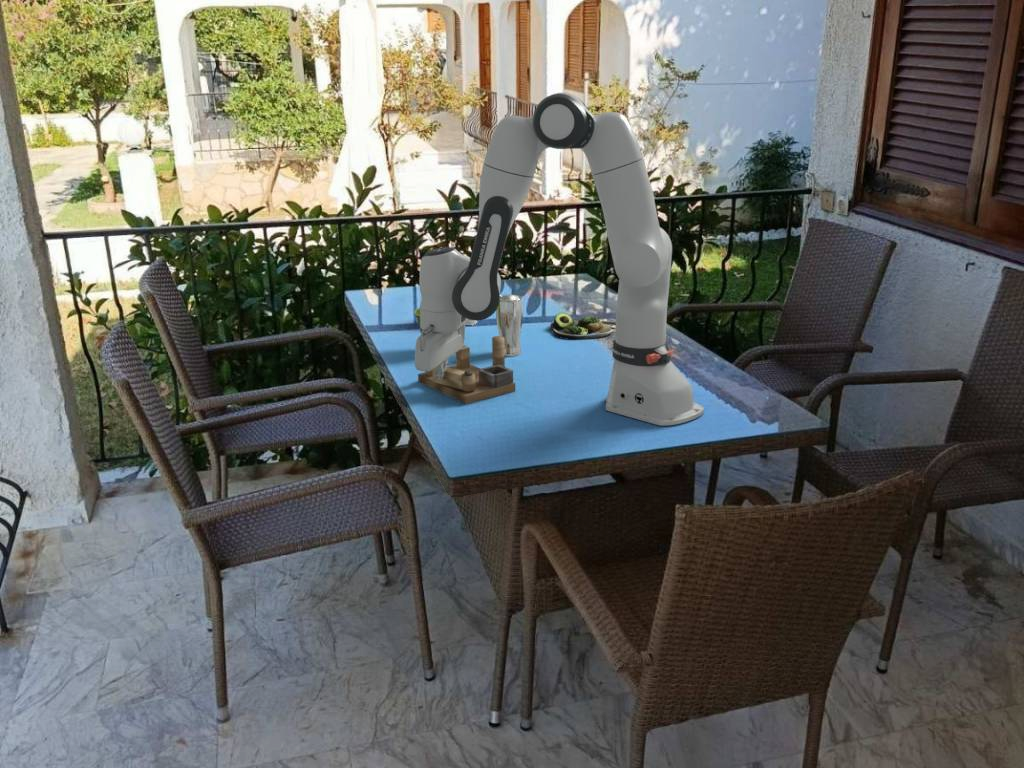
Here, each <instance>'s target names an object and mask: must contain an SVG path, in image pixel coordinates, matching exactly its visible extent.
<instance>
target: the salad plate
mask: <svg viewBox="0 0 1024 768" xmlns="http://www.w3.org/2000/svg"><path fill="white" fill-rule="evenodd" d="M597 317H598V316H588V315H587V316H585V317H582V318H580V319H579V318H573V317H572V316H571V315H570V314H569V313H567V312H558V313H557V314H555V316H554V320H553V321H552V322H550V329H551V332H552V331H553V332H552V333H553V334H555V335H554V336H556V337H558V338H560V337H562V338H561V339H564V338H568V340H583V338H588V339H596V337H597V338H603V337H607V336H609V335H610V334H612V333H613V329H612V328H611V327H613V326H616V321H606V320H602V319H603V318H602V317H601V318H597ZM596 331H599V332H598V333H597V332H596ZM590 332H592V333H597V334H591V333H590ZM587 333H588V334H587Z"/></svg>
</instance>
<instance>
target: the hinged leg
mask: <svg viewBox="0 0 1024 768" xmlns="http://www.w3.org/2000/svg"><path fill="white" fill-rule="evenodd" d="M433 382H435V383H439V384H443V385H446V386H450V387H454V388H457V389H461V390H463V391H467V392H470V391H474V390H475V374H474V373H472V371H461V370H457V369H453V368H449V367H448V366H446V370H445V377H444V378H443V379H436V372H435V370H434V369H433Z"/></svg>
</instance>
